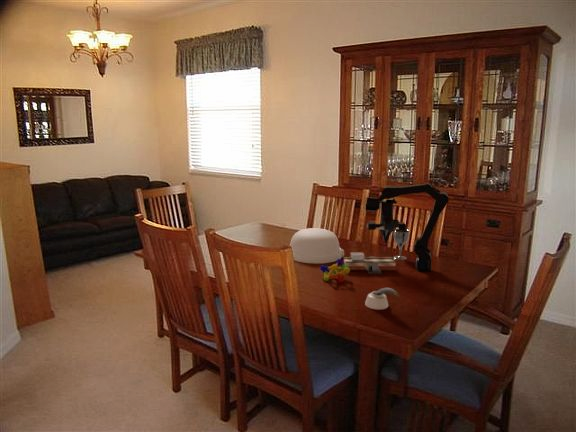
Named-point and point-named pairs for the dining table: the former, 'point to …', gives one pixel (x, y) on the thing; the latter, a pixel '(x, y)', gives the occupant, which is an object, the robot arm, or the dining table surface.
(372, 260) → the beam
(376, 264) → the pivot stand
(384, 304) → the inkwell
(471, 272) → the dining table surface
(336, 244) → the dome cover
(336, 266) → the decorative model
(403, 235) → the wine glass
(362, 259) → the steel block
